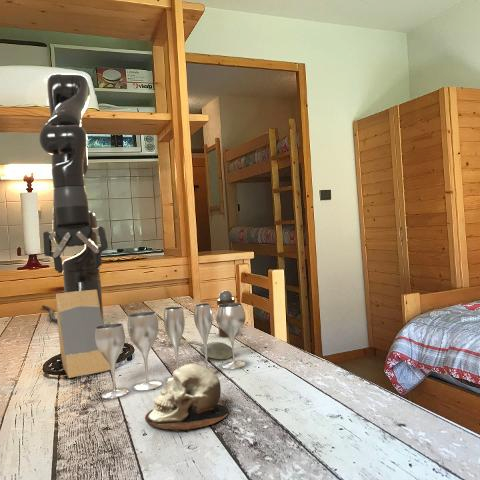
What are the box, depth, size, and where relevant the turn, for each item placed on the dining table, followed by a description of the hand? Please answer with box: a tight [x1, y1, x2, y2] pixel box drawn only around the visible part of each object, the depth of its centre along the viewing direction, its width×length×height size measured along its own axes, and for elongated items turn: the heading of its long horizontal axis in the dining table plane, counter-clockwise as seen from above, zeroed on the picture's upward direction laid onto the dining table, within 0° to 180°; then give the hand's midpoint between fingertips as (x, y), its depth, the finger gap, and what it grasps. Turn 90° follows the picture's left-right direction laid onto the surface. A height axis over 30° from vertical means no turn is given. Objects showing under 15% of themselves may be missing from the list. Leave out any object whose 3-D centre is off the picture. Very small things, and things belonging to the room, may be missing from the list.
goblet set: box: [95, 302, 247, 400], centre depth 96 cm, size 28×6×13 cm, turn 126°
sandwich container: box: [55, 290, 111, 379], centre depth 108 cm, size 9×15×15 cm, turn 31°
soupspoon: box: [169, 339, 233, 360], centre depth 115 cm, size 22×3×7 cm
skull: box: [144, 363, 229, 432], centre depth 77 cm, size 12×10×10 cm
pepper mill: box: [216, 289, 236, 338], centre depth 129 cm, size 4×4×11 cm
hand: (79, 270), depth 129 cm, fingers open, 8 cm apart
